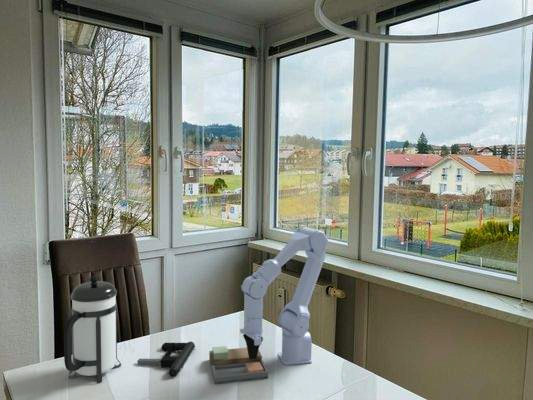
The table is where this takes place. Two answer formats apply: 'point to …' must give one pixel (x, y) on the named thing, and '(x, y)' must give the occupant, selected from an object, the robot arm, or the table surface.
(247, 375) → the charcoal tray
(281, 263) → the robot arm
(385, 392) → the table surface
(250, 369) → the terracotta block
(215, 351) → the sage tile
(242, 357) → the walnut ledge
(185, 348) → the door handle
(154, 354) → the table surface
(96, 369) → the coffee press
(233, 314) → the table surface
